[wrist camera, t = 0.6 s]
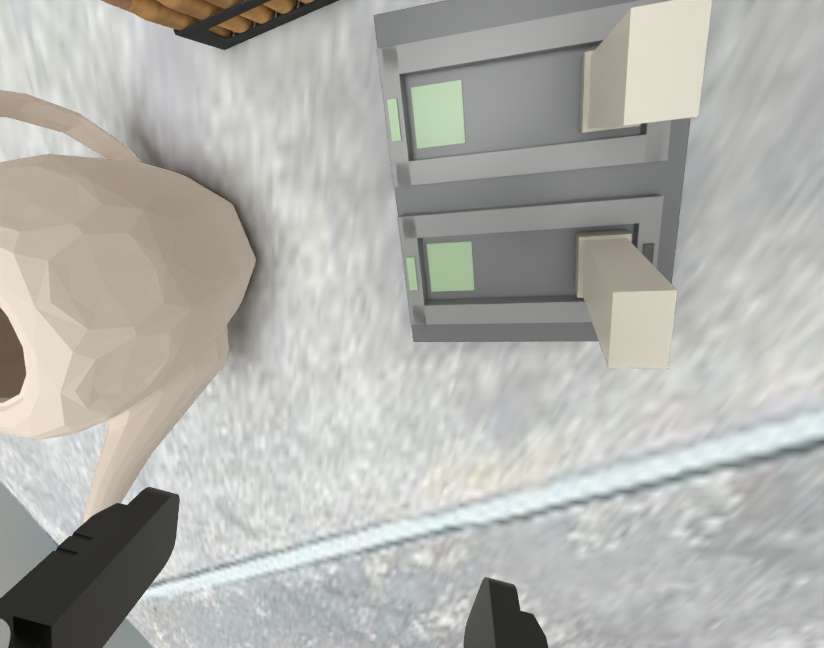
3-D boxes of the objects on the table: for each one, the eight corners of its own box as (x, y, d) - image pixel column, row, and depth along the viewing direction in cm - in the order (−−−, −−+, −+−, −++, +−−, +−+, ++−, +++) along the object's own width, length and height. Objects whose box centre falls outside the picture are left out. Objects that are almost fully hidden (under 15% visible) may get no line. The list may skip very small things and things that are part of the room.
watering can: (201, 399, 46) (13, 554, 29) (63, 134, 37) (-319, 135, 20) (331, 378, 41) (195, 550, 24) (206, 66, 32) (-143, -7, 15)
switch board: (383, 22, 28) (366, 9, 25) (696, -41, 24) (721, -66, 21) (419, 331, 37) (409, 349, 34) (657, 329, 32) (670, 349, 29)
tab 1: (581, 56, 25) (621, 2, 15) (639, 46, 24) (725, -17, 14) (579, 132, 26) (614, 132, 16) (634, 126, 26) (707, 121, 15)
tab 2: (576, 232, 29) (605, 287, 18) (626, 228, 28) (686, 285, 18) (574, 290, 30) (600, 372, 20) (622, 288, 29) (674, 372, 19)
